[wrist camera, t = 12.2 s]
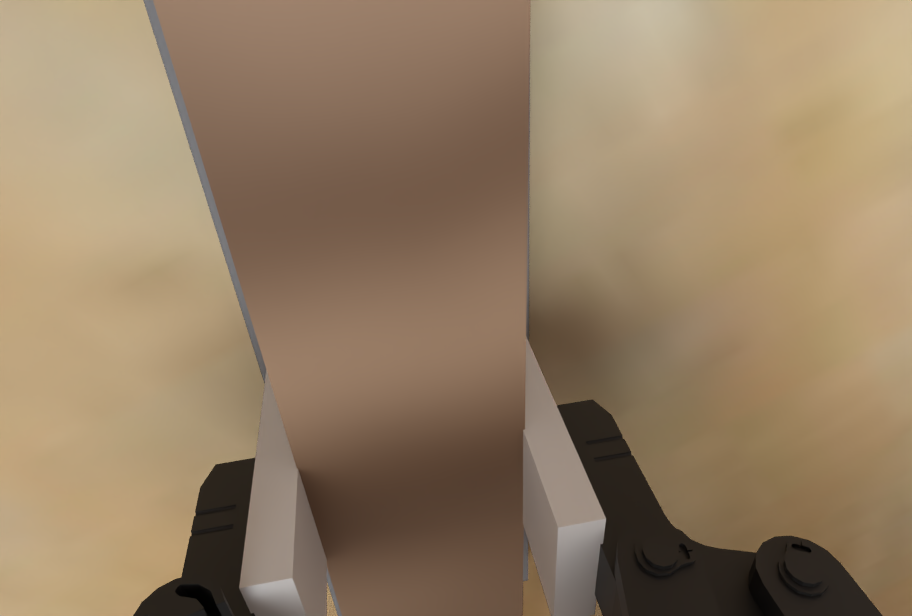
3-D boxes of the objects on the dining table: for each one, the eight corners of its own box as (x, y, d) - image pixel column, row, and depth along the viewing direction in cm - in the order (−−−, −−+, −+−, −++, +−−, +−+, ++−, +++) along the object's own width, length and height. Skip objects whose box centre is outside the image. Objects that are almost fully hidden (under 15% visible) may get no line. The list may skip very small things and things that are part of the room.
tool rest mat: (521, 556, 24) (528, 580, 23) (338, 591, 23) (338, 617, 22) (515, -308, 10) (530, -325, 9) (71, -288, 10) (47, -304, 9)
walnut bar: (484, 550, 22) (521, 707, 17) (369, 572, 21) (379, 738, 17) (449, -185, 10) (533, -226, 6) (190, -170, 10) (91, -203, 5)
